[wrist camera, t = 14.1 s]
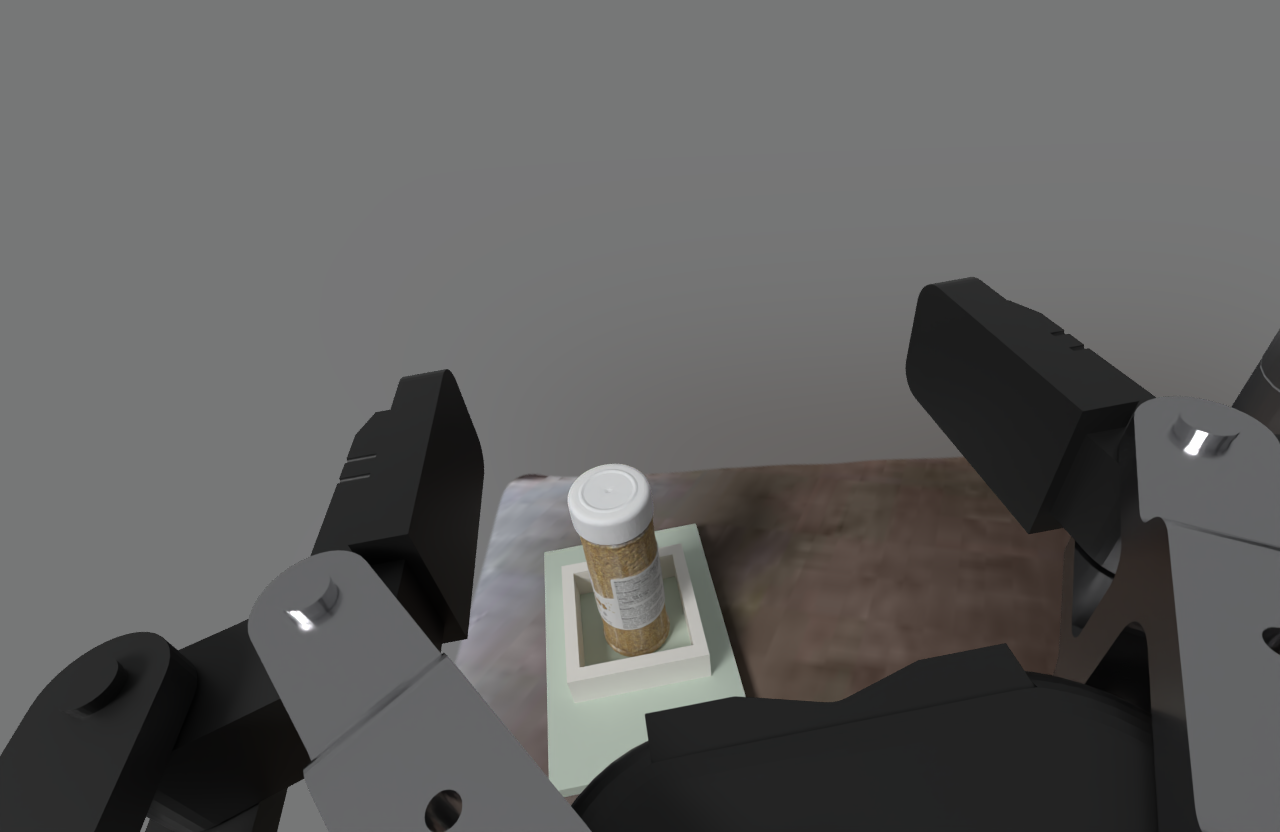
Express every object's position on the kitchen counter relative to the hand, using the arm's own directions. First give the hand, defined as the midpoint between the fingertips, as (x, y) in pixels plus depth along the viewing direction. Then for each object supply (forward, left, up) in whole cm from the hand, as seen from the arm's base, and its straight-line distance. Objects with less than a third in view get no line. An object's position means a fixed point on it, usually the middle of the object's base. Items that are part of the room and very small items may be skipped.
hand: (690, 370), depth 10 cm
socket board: (+3, -15, -31) cm, 35 cm away
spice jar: (+3, -15, -30) cm, 34 cm away
